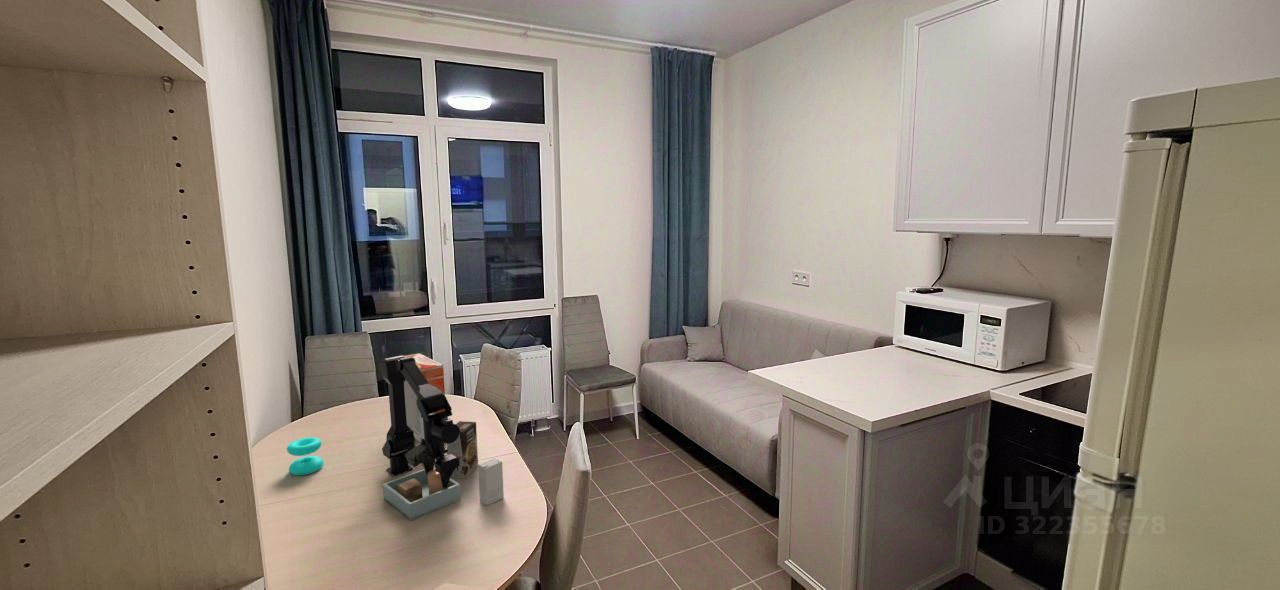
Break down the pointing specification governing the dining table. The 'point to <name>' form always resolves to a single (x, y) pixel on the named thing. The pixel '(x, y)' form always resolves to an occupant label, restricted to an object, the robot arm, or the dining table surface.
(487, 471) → the skincare box
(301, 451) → the donuts
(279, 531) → the dining table surface
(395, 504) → the tote
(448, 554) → the dining table surface
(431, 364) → the pasta box
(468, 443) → the coffee box
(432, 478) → the terracotta cylinder
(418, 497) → the walnut cube
